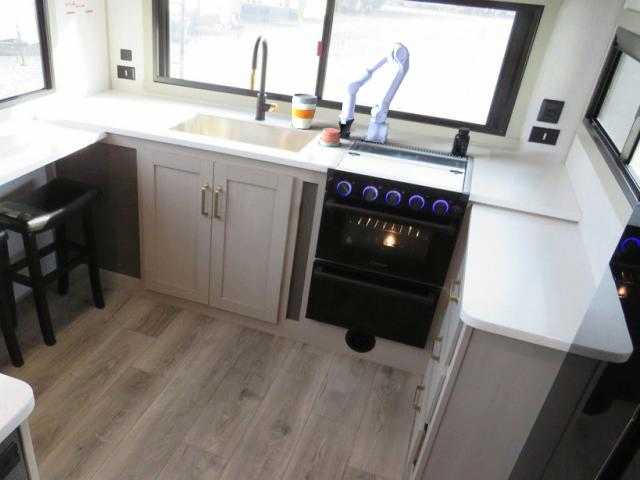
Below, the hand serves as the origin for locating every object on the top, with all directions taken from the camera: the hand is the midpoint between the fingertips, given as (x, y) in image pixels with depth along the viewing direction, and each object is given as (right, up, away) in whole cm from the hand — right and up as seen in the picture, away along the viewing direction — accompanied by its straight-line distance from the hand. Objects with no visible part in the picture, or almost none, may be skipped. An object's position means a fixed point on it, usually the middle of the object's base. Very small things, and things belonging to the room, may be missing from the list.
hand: (344, 135), depth 282 cm
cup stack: (-9, -6, -8) cm, 14 cm away
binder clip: (0, -1, +1) cm, 1 cm away
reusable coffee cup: (-20, +8, +13) cm, 25 cm away
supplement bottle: (+51, -13, -12) cm, 54 cm away
